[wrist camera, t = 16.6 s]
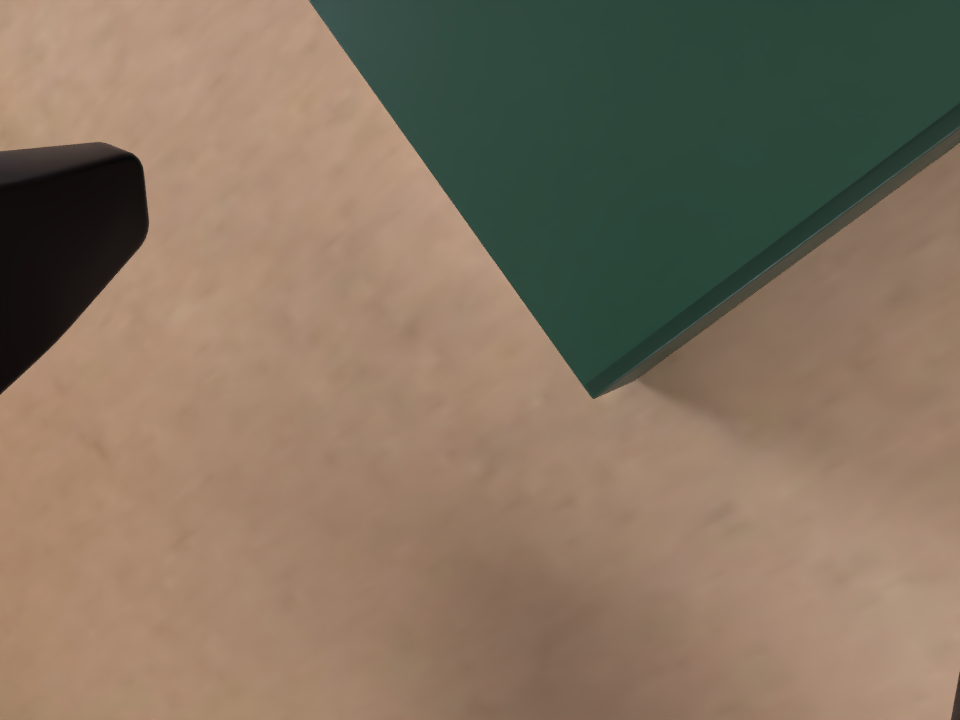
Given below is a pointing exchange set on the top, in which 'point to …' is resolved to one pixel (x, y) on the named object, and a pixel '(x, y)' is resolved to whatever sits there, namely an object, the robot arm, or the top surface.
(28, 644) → the top surface
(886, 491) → the top surface
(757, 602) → the top surface
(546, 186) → the book
